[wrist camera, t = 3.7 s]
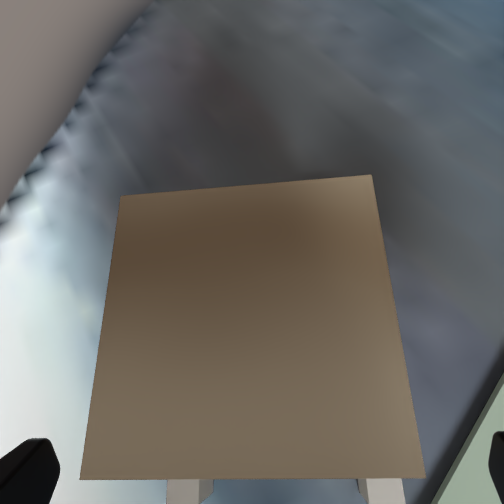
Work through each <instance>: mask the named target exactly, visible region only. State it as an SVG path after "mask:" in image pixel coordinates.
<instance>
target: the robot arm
mask: <svg viewBox="0 0 504 504" xmlns="http://www.w3.org/2000/svg"><path fill="white" fill-rule="evenodd" d="M488 468H489V472H490V476H491V478H492V481H493V483H494V486H495V488H496V491H497V493H498V496H499V498H500V501H501V503H502V504H504V431H497V432H495V433H494V434H493V437H492V443H491V448H490V454H489V459H488ZM59 474H60V464H59V461H58V459H57V456H56V454H55V451H54V449H53V446H52V443H51V442H50V440H48V439H47V438H31V439H28V440H26V441H24V442H23V443H21V444H20V445H19V446H17V447H16V448H15V449H13V450H12V451H10V452H9V453H8V454H6V455H5V456H4V457H2V458H1V459H0V504H49V502H50V500H51V497H52V494H53V492H54V489H55V486H56V484H57V481H58V478H59Z"/></svg>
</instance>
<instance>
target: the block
mask: <svg viewBox="0 0 504 504" xmlns="http://www.w3.org/2000/svg"><path fill="white" fill-rule="evenodd" d="M382 478H426V474H425V469H424V463H423V458H422V452H421V447H420V441H419V436H418V430H417V424H416V419H415V413H414V408H413V402H412V397H411V391H410V386H409V380H408V375H407V369H406V363H405V358H404V352H403V347H402V341H401V336H400V330H399V325H398V319H397V314H396V308H395V302H394V297H393V291H392V286H391V280H390V275H389V269H388V264H387V258H386V253H385V247H384V241H383V236H382V230H381V225H380V219H379V214H378V208H377V203H376V197H375V192H374V186H373V180H372V175H361V176H349V177H337V178H326V179H314V180H302V181H290V182H278V183H266V184H254V185H243V186H231V187H219V188H207V189H195V190H183V191H172V192H160V193H148V194H136V195H124V196H121V197H120V204H119V211H118V218H117V225H116V232H115V238H114V245H113V252H112V259H111V266H110V273H109V280H108V287H107V293H106V300H105V307H104V314H103V321H102V328H101V335H100V342H99V348H98V355H97V362H96V369H95V376H94V383H93V390H92V397H91V404H90V410H89V417H88V424H87V431H86V438H85V445H84V452H83V459H82V465H81V472H80V479H79V480H173V479H382Z"/></svg>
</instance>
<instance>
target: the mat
mask: <svg viewBox="0 0 504 504" xmlns="http://www.w3.org/2000/svg"><path fill="white" fill-rule="evenodd" d="M497 431H504V373H503V374H502V376H501V378H500V380H499V382H498V383H497V385H496V387H495V389H494V391H493V392H492V394H491V396H490V398H489V400H488V401H487V403H486V405H485V407H484V409H483V410H482V412H481V414H480V416H479V418H478V419H477V421H476V423H475V425H474V427H473V428H472V430H471V432H470V434H469V436H468V437H467V439H466V441H465V443H464V445H463V446H462V448H461V450H460V452H459V454H458V455H457V457H456V459H455V461H454V463H453V464H452V466H451V468H450V470H449V472H448V473H447V475H446V477H445V479H444V481H443V482H442V484H441V486H440V488H439V490H438V491H437V493H436V495H435V497H434V499H433V500H432V502H431V504H502V503H501V501H500V498H499V496H498V493H497V491H496V488H495V486H494V483H493V481H492V478H491V476H490V472H489V468H488V459H489V454H490V448H491V443H492V437H493V434H494V433H495V432H497Z"/></svg>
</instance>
